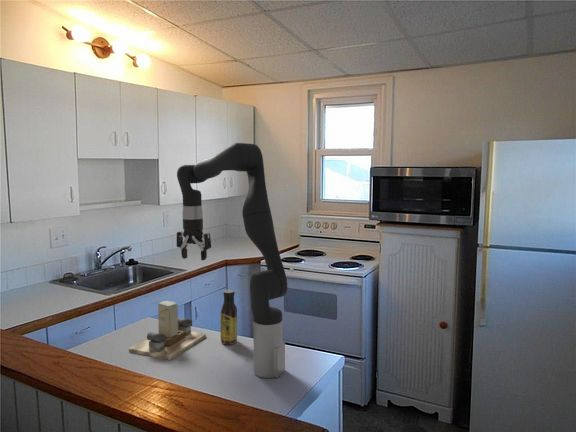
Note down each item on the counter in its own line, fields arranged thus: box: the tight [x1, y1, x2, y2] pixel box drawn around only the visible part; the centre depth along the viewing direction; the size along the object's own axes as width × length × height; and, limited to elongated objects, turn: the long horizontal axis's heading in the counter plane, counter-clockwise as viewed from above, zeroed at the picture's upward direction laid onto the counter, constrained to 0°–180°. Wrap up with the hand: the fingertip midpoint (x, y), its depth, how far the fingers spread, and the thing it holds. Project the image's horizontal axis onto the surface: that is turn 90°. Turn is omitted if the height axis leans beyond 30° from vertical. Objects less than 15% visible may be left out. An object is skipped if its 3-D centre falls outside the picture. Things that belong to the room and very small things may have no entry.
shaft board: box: [128, 317, 207, 361], centre depth 167 cm, size 18×22×7 cm
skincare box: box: [157, 299, 179, 338], centre depth 166 cm, size 6×4×12 cm
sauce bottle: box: [219, 289, 238, 346], centre depth 168 cm, size 6×6×20 cm
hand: (194, 259), depth 174 cm, fingers open, 8 cm apart
